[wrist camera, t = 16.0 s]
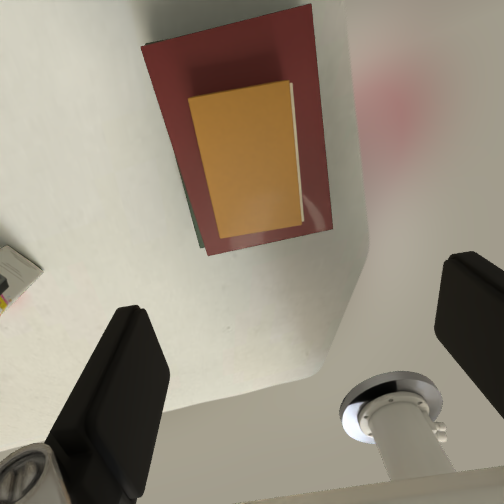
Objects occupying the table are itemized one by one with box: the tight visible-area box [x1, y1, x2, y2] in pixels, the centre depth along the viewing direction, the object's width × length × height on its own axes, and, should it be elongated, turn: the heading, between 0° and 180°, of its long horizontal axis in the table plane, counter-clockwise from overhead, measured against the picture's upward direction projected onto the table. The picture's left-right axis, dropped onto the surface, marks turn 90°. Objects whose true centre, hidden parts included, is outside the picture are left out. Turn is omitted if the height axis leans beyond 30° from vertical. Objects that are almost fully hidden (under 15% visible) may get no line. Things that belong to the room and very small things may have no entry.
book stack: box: [141, 3, 333, 256], centre depth 28 cm, size 18×13×6 cm
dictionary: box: [188, 80, 304, 239], centre depth 24 cm, size 10×7×4 cm
